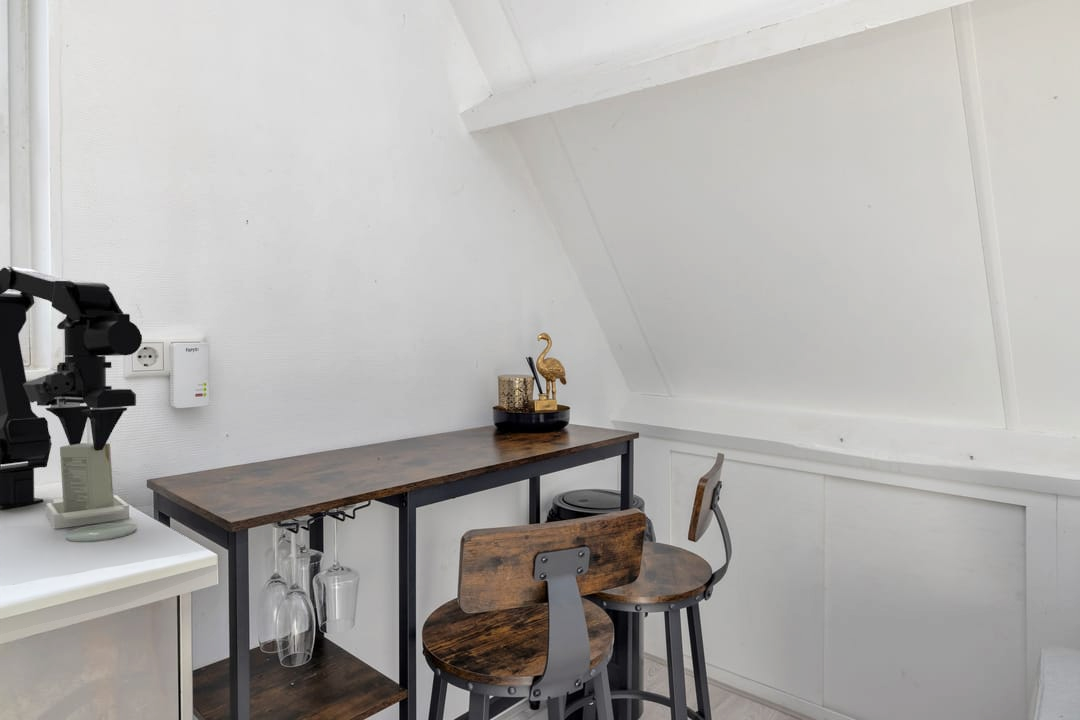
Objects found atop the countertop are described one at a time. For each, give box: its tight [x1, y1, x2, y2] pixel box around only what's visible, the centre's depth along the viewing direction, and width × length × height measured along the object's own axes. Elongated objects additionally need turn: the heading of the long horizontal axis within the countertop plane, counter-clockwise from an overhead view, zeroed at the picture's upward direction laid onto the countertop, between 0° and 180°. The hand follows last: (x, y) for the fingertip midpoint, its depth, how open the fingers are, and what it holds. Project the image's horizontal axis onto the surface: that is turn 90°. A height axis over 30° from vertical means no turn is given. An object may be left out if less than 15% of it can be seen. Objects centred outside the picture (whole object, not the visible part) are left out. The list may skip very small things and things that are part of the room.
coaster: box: [65, 522, 137, 543], centre depth 104 cm, size 9×9×1 cm
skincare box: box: [59, 442, 114, 513], centre depth 115 cm, size 6×4×12 cm
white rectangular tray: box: [45, 494, 130, 530], centre depth 115 cm, size 18×10×2 cm, turn 41°
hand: (86, 449), depth 115 cm, fingers open, 7 cm apart
